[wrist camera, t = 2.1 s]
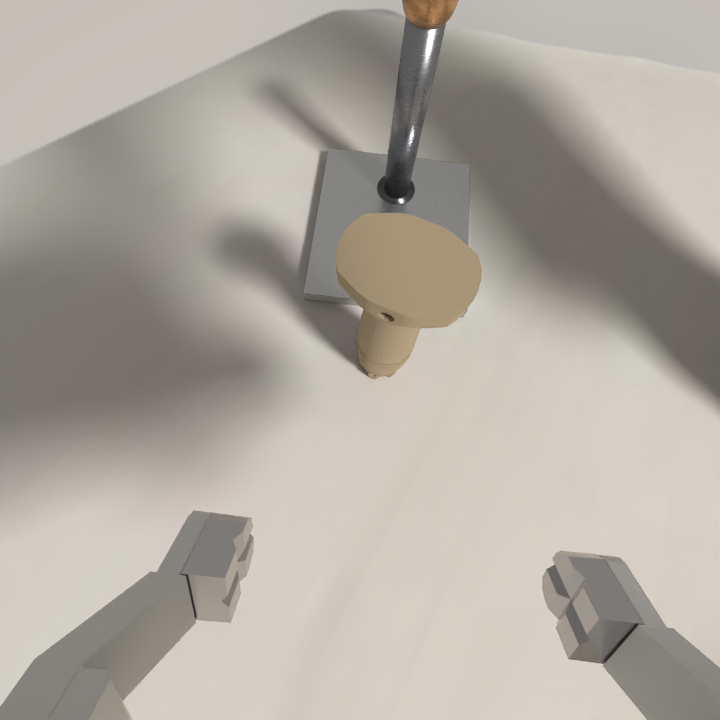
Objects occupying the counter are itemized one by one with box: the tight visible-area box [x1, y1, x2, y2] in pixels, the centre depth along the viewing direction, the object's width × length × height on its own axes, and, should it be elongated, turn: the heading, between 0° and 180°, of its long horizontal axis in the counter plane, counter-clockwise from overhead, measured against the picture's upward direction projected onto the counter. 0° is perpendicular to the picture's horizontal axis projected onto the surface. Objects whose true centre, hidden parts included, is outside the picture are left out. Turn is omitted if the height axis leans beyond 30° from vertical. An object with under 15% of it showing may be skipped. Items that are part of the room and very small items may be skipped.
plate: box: [303, 148, 470, 317], centre depth 33 cm, size 14×16×1 cm
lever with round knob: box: [384, 0, 458, 199], centre depth 26 cm, size 3×3×16 cm
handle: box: [336, 213, 482, 379], centre depth 23 cm, size 5×6×15 cm
